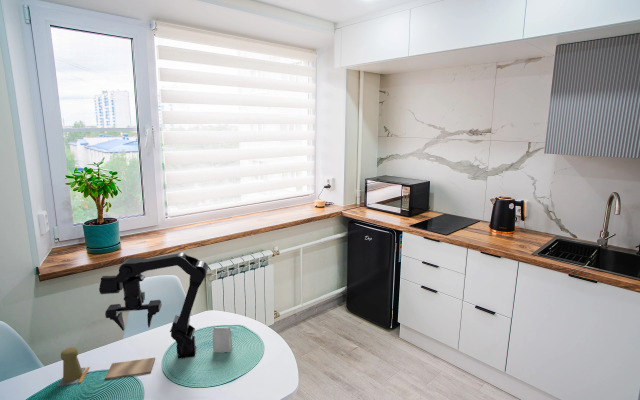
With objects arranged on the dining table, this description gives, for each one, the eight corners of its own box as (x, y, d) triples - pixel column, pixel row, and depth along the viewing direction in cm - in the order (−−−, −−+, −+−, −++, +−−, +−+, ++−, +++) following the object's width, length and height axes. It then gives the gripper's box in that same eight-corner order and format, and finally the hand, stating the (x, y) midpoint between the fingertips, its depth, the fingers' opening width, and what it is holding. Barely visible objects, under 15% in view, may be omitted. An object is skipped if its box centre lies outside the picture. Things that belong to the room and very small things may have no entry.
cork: (73, 383, 130) (68, 355, 128) (58, 380, 131) (54, 353, 129) (86, 372, 136) (82, 345, 133) (73, 369, 137) (68, 343, 135)
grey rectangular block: (229, 352, 148) (228, 330, 146) (213, 352, 148) (211, 330, 146) (232, 347, 151) (231, 325, 149) (216, 346, 152) (214, 325, 150)
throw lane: (155, 358, 144) (155, 357, 144) (150, 372, 136) (150, 371, 136) (68, 370, 137) (68, 369, 137) (57, 386, 129) (57, 384, 129)
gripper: (162, 280, 148) (165, 315, 151) (111, 285, 144) (116, 320, 147) (156, 292, 138) (160, 329, 141) (102, 298, 133) (107, 336, 137)
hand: (136, 328), depth 142 cm, fingers open, 9 cm apart
